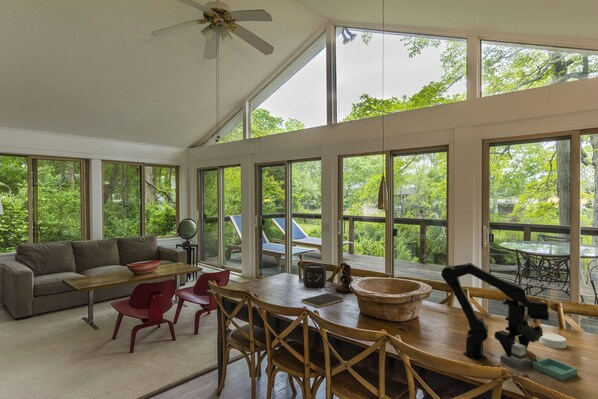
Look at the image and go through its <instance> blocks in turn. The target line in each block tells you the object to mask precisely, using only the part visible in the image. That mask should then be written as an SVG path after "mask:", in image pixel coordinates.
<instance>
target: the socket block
mask: <svg viewBox="0 0 598 399" xmlns="http://www.w3.org/2000/svg"><path fill="white" fill-rule="evenodd" d="M499 360H500V363H503V364H505V365H507V366H509V367H511V368H513V369H516V370H518V371H520V372H522V371H524V370H528V369H531V368H533V362H534V361H533V360H531V359H529V358H528V357H527V356H525V361H523V362H520V361H517V360H515V359H513V358H509V357H507V355H506V353H504V354H501V355H500V358H499Z"/></svg>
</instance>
